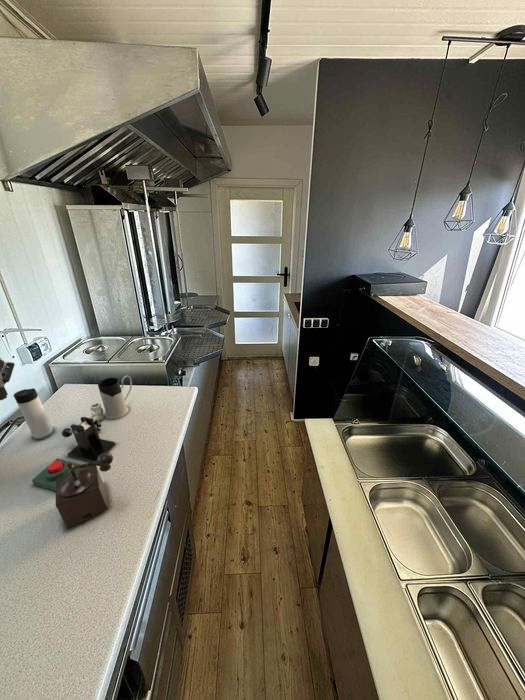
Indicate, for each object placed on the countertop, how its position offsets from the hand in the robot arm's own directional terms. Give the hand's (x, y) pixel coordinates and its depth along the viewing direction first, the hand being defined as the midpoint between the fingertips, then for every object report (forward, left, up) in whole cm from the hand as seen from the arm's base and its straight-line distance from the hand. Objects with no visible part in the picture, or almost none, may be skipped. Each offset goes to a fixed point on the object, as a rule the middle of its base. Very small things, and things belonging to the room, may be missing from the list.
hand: (2, 398), depth 85 cm
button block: (+13, -2, -27) cm, 30 cm away
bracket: (+14, +10, -27) cm, 32 cm away
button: (+13, -2, -23) cm, 27 cm away
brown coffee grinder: (+31, -6, -27) cm, 42 cm away
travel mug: (-11, +12, -27) cm, 32 cm away
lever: (+10, +10, -20) cm, 24 cm away
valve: (+5, +22, -27) cm, 35 cm away
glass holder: (+8, +33, -27) cm, 44 cm away
